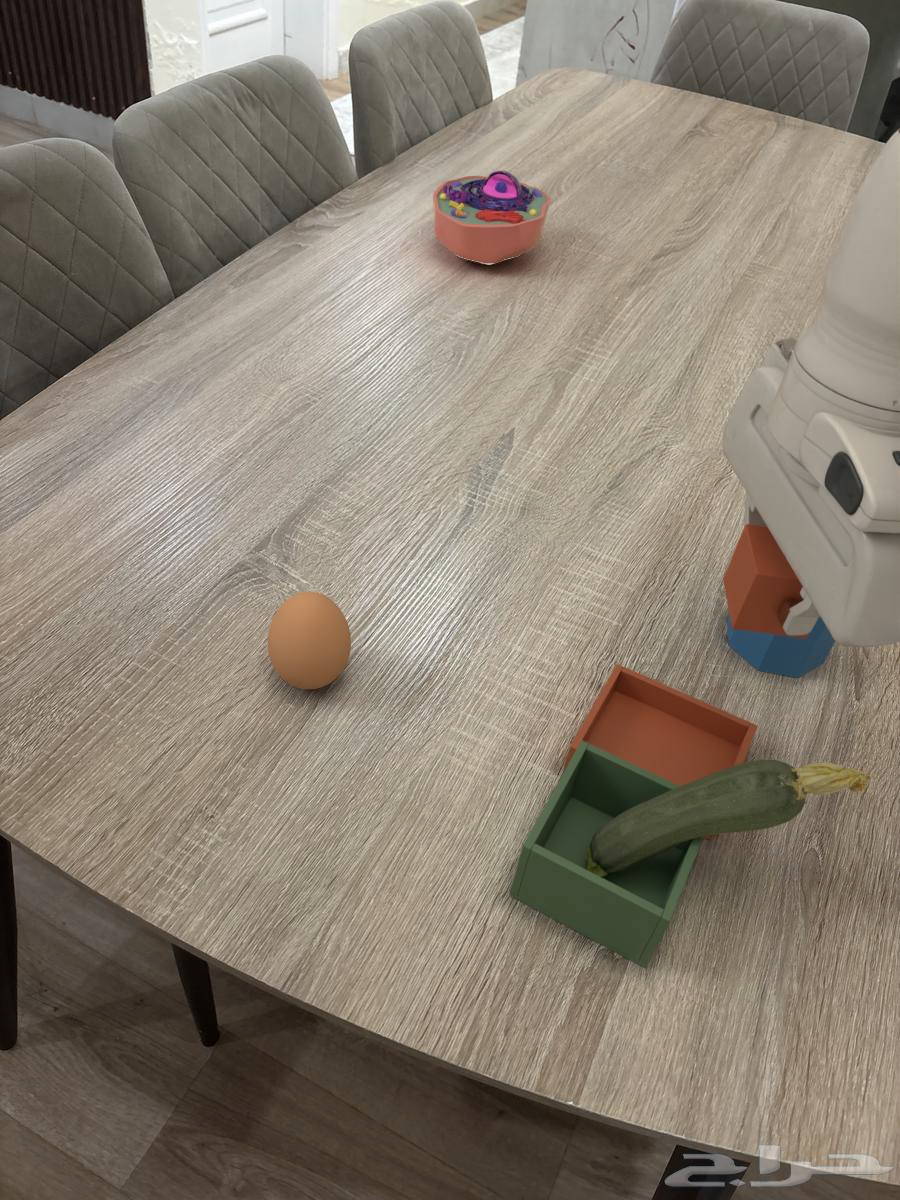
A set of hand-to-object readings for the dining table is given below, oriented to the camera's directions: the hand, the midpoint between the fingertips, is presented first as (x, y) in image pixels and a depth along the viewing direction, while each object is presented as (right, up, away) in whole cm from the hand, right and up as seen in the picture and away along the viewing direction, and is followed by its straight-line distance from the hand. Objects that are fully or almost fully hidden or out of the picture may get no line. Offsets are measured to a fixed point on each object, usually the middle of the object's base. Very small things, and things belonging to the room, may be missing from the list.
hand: (771, 591), depth 63 cm
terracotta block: (0, -1, +1) cm, 2 cm away
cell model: (-16, +51, +79) cm, 95 cm away
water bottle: (+8, -4, +24) cm, 26 cm away
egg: (-33, -7, +16) cm, 37 cm away
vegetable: (-12, -19, +5) cm, 23 cm away
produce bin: (-10, -20, +5) cm, 23 cm away
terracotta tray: (-5, -13, +13) cm, 19 cm away
